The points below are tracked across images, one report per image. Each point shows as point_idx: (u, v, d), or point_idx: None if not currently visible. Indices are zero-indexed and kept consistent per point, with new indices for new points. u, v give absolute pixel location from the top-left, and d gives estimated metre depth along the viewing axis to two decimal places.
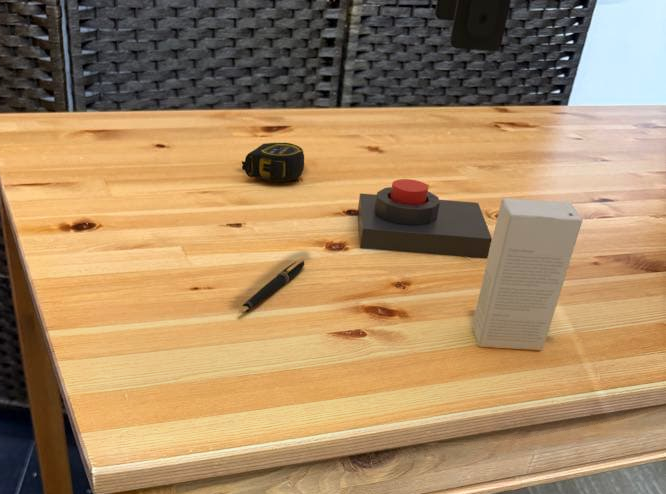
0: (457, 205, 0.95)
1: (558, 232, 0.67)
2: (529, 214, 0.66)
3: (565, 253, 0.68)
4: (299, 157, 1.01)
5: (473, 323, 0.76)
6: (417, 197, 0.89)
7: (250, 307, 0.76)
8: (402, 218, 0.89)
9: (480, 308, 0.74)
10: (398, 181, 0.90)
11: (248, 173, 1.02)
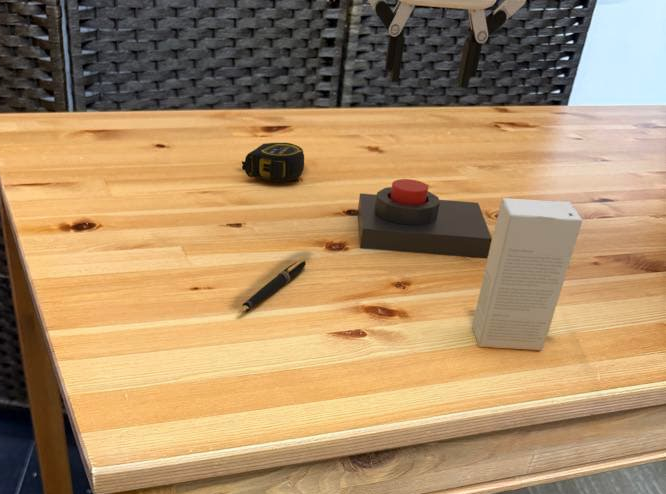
0: (457, 205, 0.95)
1: (558, 232, 0.67)
2: (529, 214, 0.66)
3: (565, 253, 0.68)
4: (299, 157, 1.01)
5: (473, 323, 0.76)
6: (417, 197, 0.89)
7: (250, 306, 0.76)
8: (402, 218, 0.89)
9: (480, 308, 0.74)
10: (398, 181, 0.90)
11: (248, 173, 1.02)
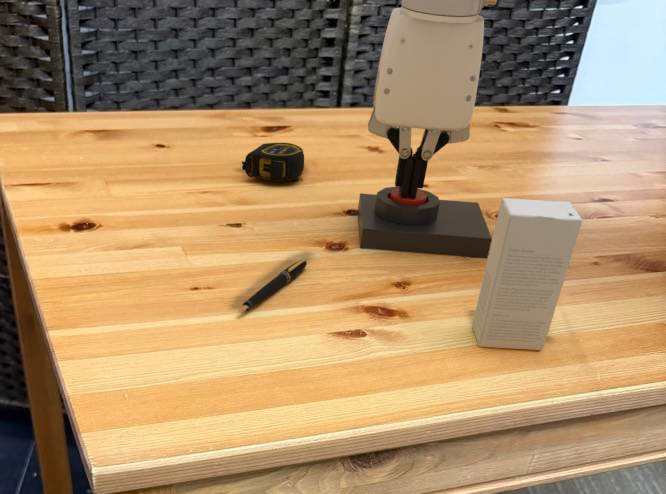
0: (457, 205, 0.95)
1: (558, 232, 0.67)
2: (529, 214, 0.66)
3: (565, 253, 0.68)
4: (299, 157, 1.01)
5: (473, 323, 0.76)
6: None
7: (250, 306, 0.76)
8: (402, 218, 0.89)
9: (480, 308, 0.74)
10: (397, 190, 0.91)
11: (248, 173, 1.02)
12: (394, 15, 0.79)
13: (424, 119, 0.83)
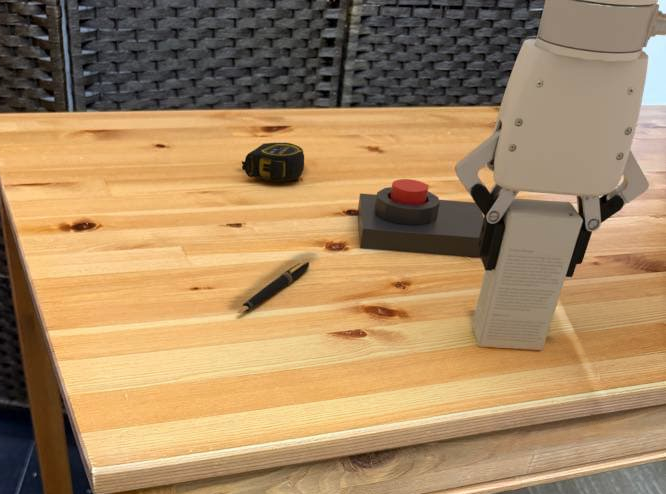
0: (457, 205, 0.95)
1: (559, 232, 0.67)
2: (530, 214, 0.66)
3: (565, 253, 0.68)
4: (299, 157, 1.01)
5: (473, 323, 0.76)
6: (417, 197, 0.89)
7: (250, 307, 0.76)
8: (402, 218, 0.89)
9: (480, 308, 0.74)
10: (398, 181, 0.90)
11: (248, 173, 1.02)
12: (528, 50, 0.59)
13: (559, 182, 0.64)
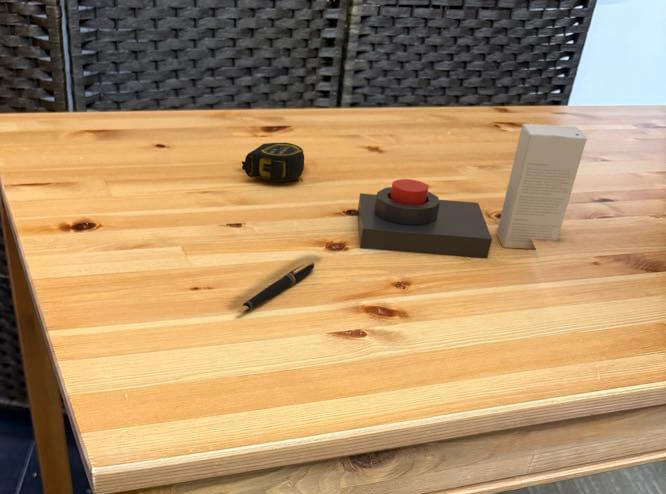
0: (457, 205, 0.95)
1: (568, 148, 0.84)
2: (545, 133, 0.84)
3: (573, 166, 0.86)
4: (299, 157, 1.01)
5: (497, 231, 0.94)
6: (417, 197, 0.89)
7: (250, 307, 0.76)
8: (402, 218, 0.89)
9: (504, 216, 0.92)
10: (398, 181, 0.90)
11: (248, 173, 1.02)
12: None
13: None
